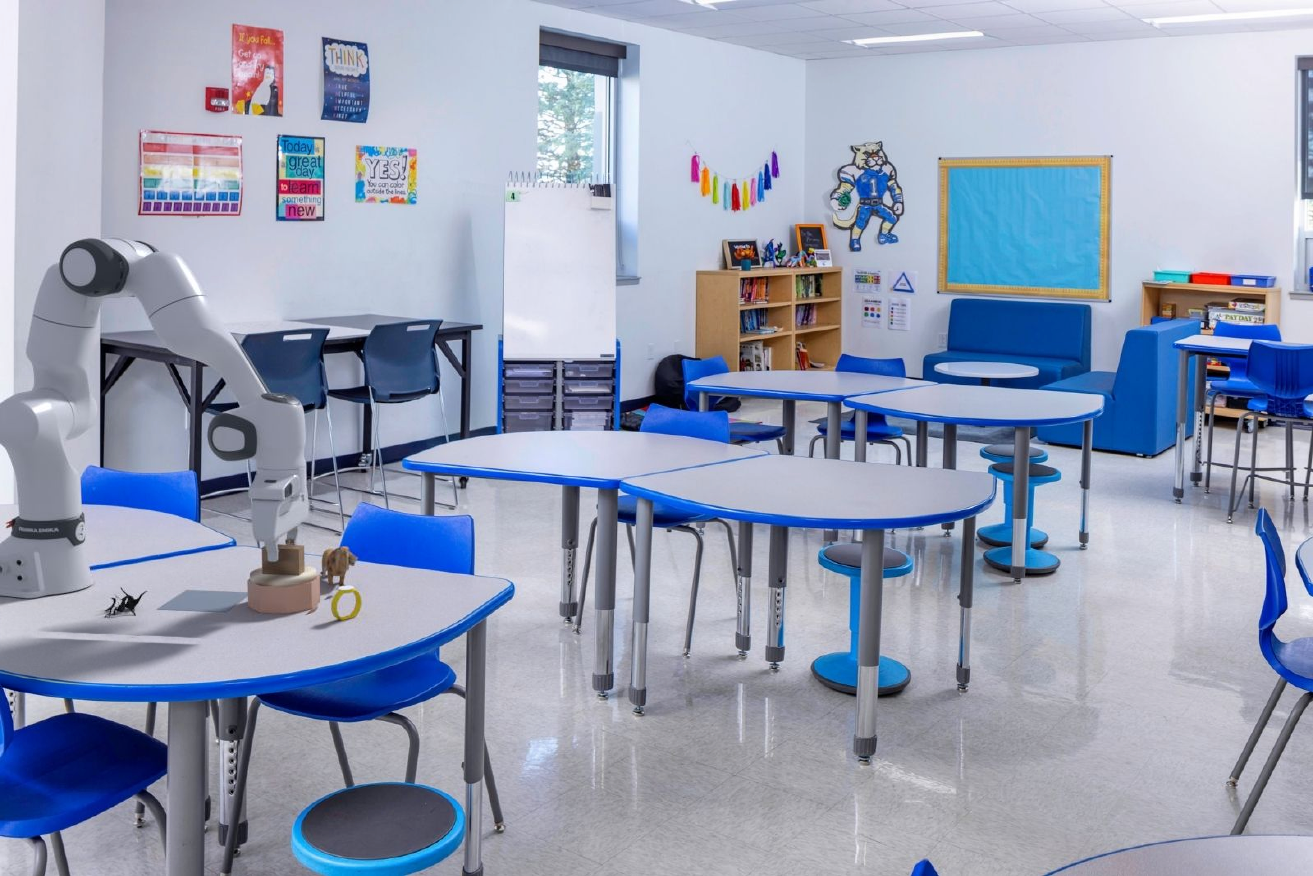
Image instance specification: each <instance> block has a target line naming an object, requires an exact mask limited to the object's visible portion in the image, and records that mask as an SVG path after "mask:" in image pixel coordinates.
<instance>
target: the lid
mask: <svg viewBox="0 0 1313 876" xmlns="http://www.w3.org/2000/svg"><path fill="white" fill-rule="evenodd" d="M277 545H278V550H280V559H279V560H277V561H276V562H271V561H268V552H267V550H266V547H265V545H264V546H262V547H261V567H259V568H256V569H254V570H252V571H251V572H250V573H249V579H250V581H251V582H252V583H254V584H257V585H262V586H271V587H283V586H294V585H300V584H305V583H308V582H311V581H313V580H315V579H316V578H317V575H318V574H317V573H318V570H317V569H316V568H315V567H313V566H309V565H305V545H300V544H297V545H286V544H279V543H277Z"/></svg>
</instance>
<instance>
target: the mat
mask: <svg viewBox="0 0 1313 876" xmlns="http://www.w3.org/2000/svg"><path fill="white" fill-rule="evenodd" d="M246 598H248V591H225V590H223V591H222V590H202V589H201V590H199V589H196V590H195V589H184V591H183V592H181V593H179V594H177V595H176V596H174V597H173V598H171V599H170V600H169V601H167V602H165V603H164V604H163V605H161V606H159V607H157V608H156V610H158V611H159V610H161V611H186V612H208V613H228V612H229V611H230V610H232V609H234V607H235V606H237V605H239V604H240V603H241V602H242V601H244V600H245V599H246Z"/></svg>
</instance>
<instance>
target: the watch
mask: <svg viewBox="0 0 1313 876" xmlns="http://www.w3.org/2000/svg"><path fill="white" fill-rule="evenodd" d="M350 593H353V594H354V597H355V605H354V609H353V610H352V611H351V613H350V614H347V615H343V616H340V614H339V611H338V602H339V601H340V599H341V596H343V595H344V594H350ZM362 604H363V601H362V595H361V594H360V592H359V591H358V590H356V589H355V587H354V586H353V585H346V586H341V587H340V586H338V590H337V592H336V593H335V594H334V596H333V597H332V600H331V605H330V609H331V613H332V615H333V616H334V617H335V618H336V619H337V620H339V621H346V620H349V619H353V618H356V617H357V615H359V613H360V611H361V608H362Z"/></svg>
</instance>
